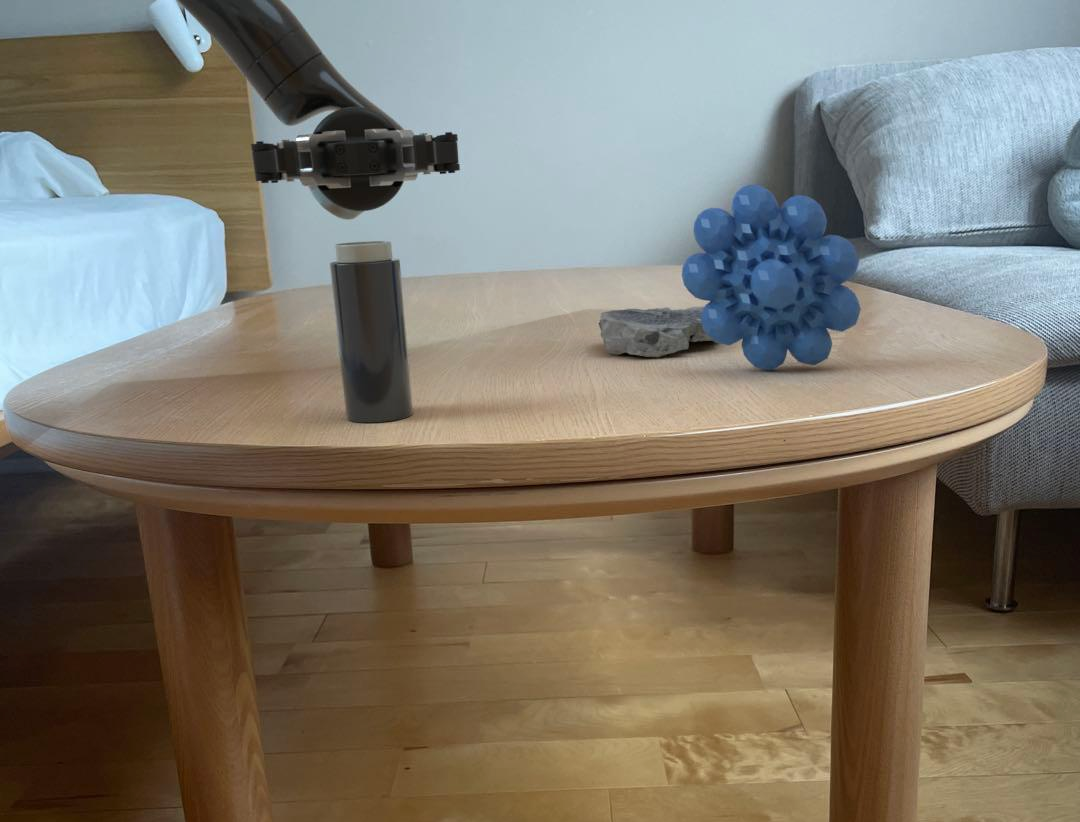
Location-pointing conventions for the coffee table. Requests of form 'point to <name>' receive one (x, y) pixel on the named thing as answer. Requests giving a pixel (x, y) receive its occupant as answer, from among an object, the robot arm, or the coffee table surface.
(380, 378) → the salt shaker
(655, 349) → the fossil
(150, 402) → the coffee table surface
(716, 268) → the blue flower toy
